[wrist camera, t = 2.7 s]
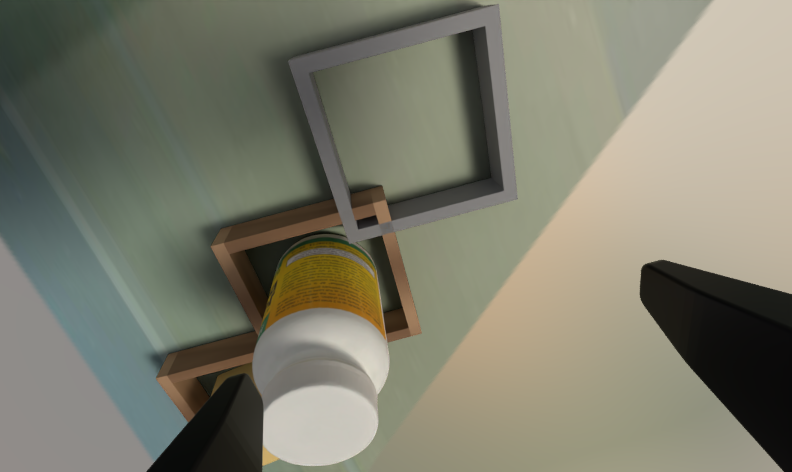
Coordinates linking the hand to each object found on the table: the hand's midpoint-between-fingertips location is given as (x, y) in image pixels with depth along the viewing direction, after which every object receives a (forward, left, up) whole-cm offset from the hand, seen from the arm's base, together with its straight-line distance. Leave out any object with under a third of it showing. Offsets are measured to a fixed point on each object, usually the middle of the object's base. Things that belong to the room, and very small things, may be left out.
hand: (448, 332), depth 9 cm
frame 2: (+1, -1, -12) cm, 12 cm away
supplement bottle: (-5, +5, -12) cm, 14 cm away
